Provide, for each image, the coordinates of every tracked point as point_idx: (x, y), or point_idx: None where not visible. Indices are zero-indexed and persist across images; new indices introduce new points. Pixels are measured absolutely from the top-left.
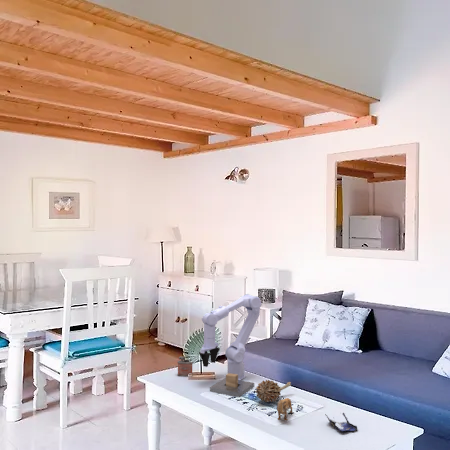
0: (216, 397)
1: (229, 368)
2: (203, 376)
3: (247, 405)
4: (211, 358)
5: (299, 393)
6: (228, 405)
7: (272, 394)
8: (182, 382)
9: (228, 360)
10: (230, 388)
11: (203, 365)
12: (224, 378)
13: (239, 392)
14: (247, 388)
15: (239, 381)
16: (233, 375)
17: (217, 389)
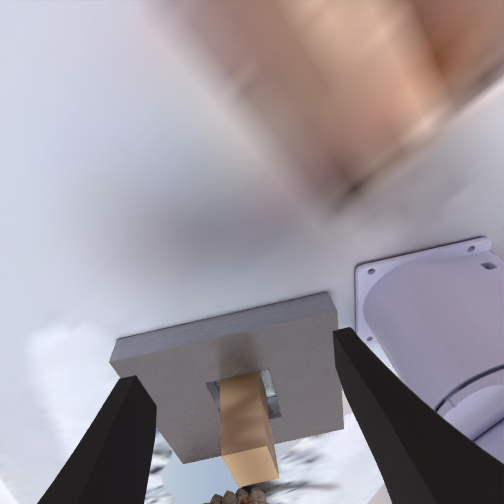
0: (90, 403)
1: (406, 359)
2: (343, 69)
3: None
4: (356, 383)
5: (358, 489)
6: None
7: None
8: (26, 20)
9: (485, 396)
10: (194, 422)
11: (113, 390)
12: (316, 316)
13: (186, 461)
14: None
15: (320, 390)
16: (245, 477)
17: None
